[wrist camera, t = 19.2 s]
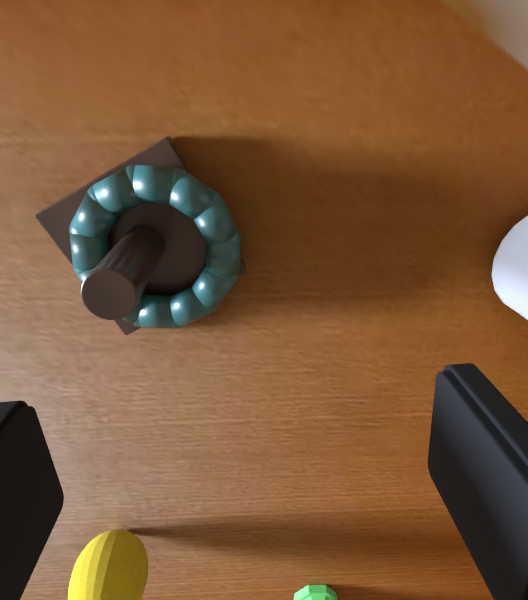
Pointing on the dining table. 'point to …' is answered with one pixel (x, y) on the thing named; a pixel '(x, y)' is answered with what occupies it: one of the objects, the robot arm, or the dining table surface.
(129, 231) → the post
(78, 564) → the lemon
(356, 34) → the dining table surface
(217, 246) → the ring
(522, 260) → the can
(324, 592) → the game piece
